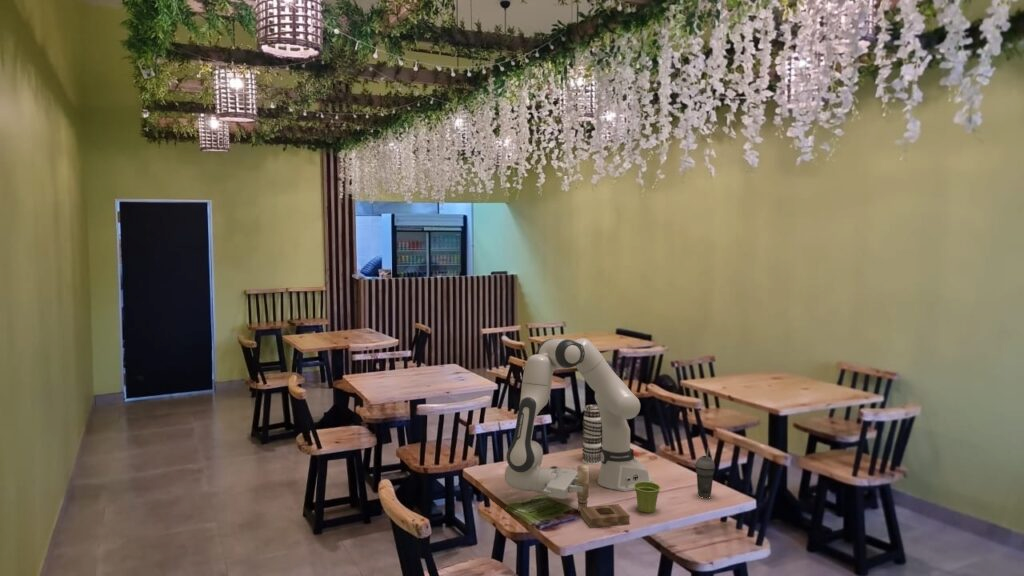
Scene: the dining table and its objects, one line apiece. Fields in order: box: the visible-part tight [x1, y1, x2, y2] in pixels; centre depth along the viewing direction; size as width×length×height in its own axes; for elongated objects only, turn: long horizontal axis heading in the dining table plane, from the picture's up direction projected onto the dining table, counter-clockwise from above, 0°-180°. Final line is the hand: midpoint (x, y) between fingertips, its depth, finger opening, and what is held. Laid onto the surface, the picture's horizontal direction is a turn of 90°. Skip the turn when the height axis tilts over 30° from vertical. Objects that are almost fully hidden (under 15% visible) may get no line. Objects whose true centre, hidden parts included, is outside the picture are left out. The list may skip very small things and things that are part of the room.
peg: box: [576, 464, 590, 513], centre depth 228 cm, size 4×4×16 cm
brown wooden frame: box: [580, 503, 631, 529], centre depth 221 cm, size 14×10×3 cm
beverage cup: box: [694, 445, 716, 499], centre depth 242 cm, size 7×7×20 cm
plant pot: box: [634, 482, 661, 514], centre depth 229 cm, size 9×9×9 cm
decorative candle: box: [581, 404, 602, 465], centre depth 281 cm, size 9×9×25 cm
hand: (585, 486), depth 228 cm, fingers closed on peg, 4 cm apart
